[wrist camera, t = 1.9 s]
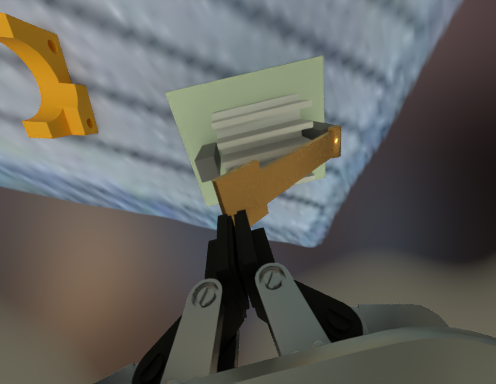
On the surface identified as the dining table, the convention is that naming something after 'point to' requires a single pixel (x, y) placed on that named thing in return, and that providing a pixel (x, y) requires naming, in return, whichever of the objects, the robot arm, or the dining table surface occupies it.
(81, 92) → the pipe clamp
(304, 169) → the strap
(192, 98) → the board
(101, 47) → the dining table surface
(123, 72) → the dining table surface
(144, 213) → the dining table surface
